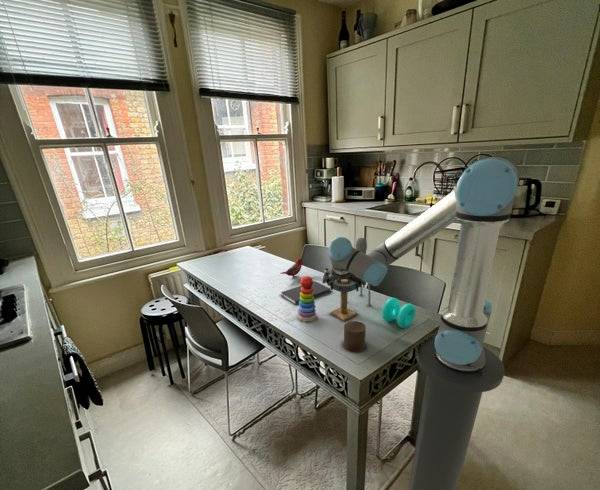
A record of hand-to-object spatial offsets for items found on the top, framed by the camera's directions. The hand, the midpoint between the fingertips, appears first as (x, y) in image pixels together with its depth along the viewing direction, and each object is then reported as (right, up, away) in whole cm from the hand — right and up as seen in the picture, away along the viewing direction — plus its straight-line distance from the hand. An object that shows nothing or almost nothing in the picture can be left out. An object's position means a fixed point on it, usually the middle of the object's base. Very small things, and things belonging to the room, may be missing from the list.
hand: (344, 287), depth 133 cm
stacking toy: (-16, -13, +1) cm, 20 cm away
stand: (+1, -21, -19) cm, 28 cm away
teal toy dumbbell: (+20, -15, -6) cm, 26 cm away
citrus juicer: (+9, -7, +12) cm, 16 cm away
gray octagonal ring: (-1, 0, -3) cm, 4 cm away
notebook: (-16, -3, +22) cm, 28 cm away
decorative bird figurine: (-23, +5, +40) cm, 46 cm away
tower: (0, -11, +2) cm, 12 cm away
